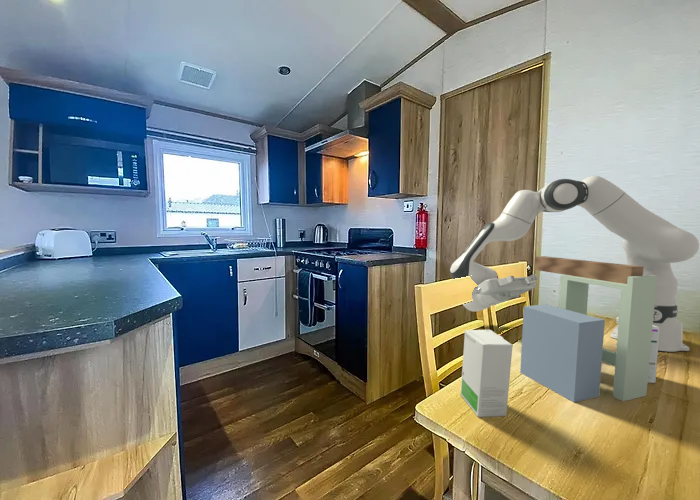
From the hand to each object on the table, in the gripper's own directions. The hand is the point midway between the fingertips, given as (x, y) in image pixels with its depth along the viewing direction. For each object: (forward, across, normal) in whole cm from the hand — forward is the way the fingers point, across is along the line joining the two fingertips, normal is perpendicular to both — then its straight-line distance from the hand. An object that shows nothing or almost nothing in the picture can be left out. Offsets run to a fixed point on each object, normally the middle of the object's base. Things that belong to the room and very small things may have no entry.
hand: (524, 277), depth 94 cm
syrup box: (+9, +12, +32) cm, 35 cm away
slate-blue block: (+6, -11, +30) cm, 33 cm away
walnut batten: (+16, 0, +6) cm, 17 cm away
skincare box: (+8, -35, +31) cm, 48 cm away
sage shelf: (+8, 0, +31) cm, 32 cm away
